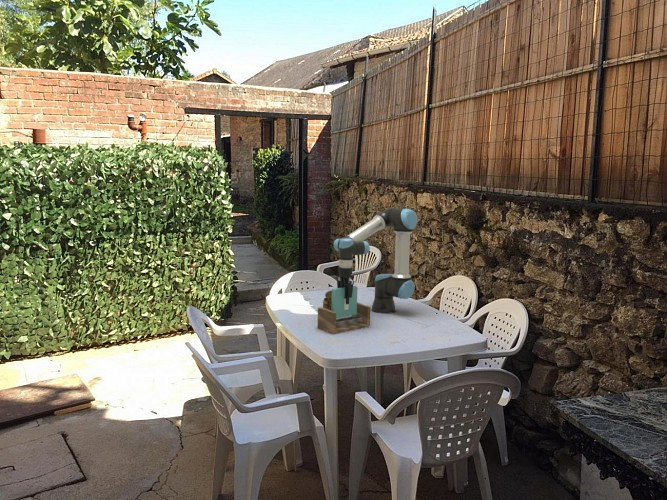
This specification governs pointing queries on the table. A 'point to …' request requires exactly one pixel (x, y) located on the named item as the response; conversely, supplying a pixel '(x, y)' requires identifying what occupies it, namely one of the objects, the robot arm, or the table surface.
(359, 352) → the table surface
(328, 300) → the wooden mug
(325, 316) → the wooden rack
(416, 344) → the table surface
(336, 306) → the door panel
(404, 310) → the table surface
